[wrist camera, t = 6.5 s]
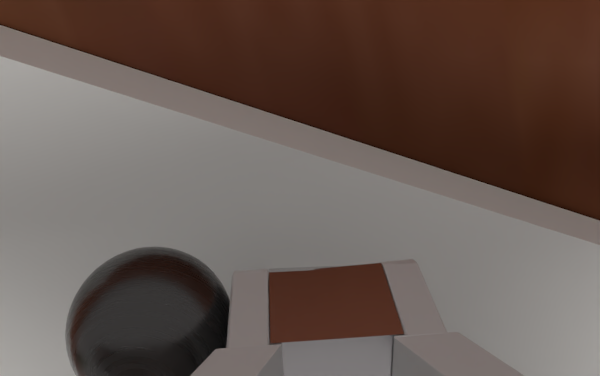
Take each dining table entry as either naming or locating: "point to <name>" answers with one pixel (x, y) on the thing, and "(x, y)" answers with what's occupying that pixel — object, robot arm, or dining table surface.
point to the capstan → (147, 316)
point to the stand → (260, 211)
